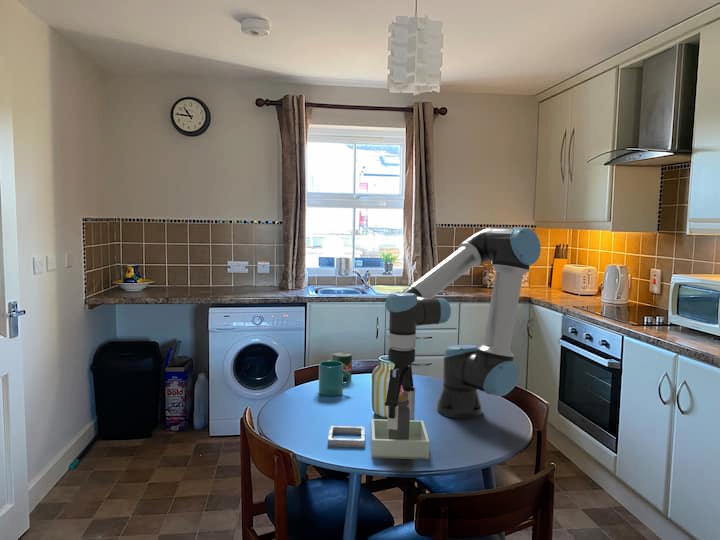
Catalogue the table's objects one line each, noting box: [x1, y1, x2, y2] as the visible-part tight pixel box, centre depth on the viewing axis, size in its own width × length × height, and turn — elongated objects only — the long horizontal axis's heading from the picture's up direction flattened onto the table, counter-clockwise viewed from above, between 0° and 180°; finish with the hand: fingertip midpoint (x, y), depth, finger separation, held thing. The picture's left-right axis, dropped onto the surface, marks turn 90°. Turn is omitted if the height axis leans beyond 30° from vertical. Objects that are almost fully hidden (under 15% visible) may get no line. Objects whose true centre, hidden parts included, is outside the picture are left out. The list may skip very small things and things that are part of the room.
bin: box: [370, 418, 430, 460], centre depth 152 cm, size 16×16×5 cm
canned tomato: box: [332, 350, 353, 382], centre depth 216 cm, size 8×8×11 cm
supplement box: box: [400, 385, 416, 420], centre depth 171 cm, size 6×6×12 cm
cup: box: [318, 360, 352, 397], centre depth 199 cm, size 9×12×11 cm
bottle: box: [389, 391, 410, 440], centre depth 152 cm, size 6×6×15 cm
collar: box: [327, 425, 366, 448], centre depth 156 cm, size 10×10×2 cm
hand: (399, 420), depth 152 cm, fingers open, 13 cm apart
